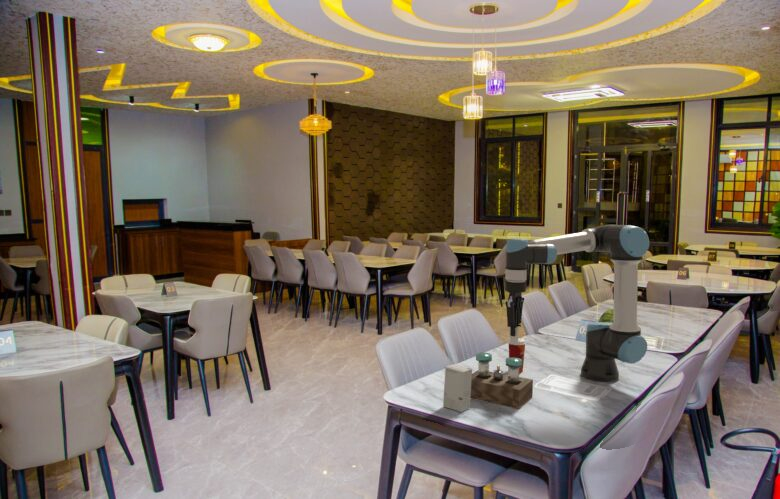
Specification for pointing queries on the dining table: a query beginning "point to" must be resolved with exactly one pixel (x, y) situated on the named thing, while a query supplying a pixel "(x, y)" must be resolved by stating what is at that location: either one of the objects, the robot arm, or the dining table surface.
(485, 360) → the knob
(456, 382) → the skincare box
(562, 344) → the dining table surface
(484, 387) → the mount
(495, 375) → the potentiometer
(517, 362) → the green capped bottle
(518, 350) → the paper cup
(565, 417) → the dining table surface
